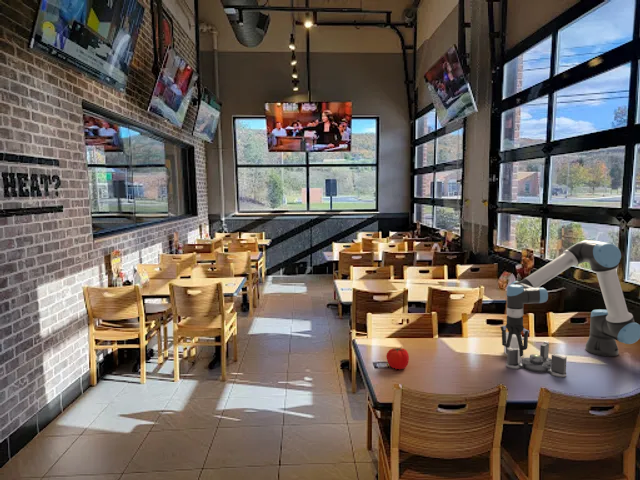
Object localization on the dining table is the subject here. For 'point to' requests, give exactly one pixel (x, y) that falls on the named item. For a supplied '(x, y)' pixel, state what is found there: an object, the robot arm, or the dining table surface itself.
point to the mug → (512, 342)
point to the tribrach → (536, 365)
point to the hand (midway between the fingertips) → (514, 360)
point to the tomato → (397, 358)
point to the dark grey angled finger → (512, 356)
